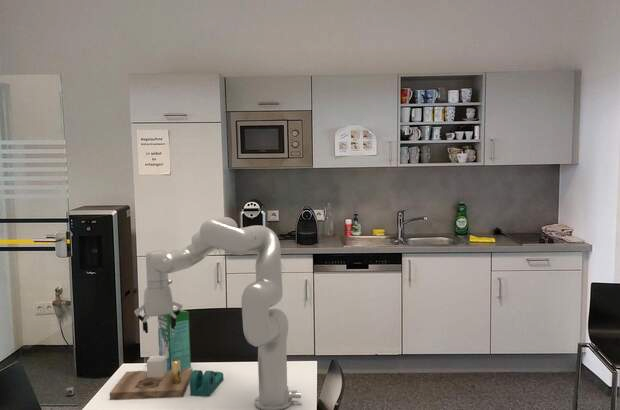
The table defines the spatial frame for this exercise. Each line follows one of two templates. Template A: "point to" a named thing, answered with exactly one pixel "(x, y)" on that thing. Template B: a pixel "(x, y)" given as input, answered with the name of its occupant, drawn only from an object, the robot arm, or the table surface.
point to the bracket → (204, 382)
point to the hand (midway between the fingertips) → (159, 330)
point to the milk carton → (175, 339)
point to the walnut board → (150, 386)
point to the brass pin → (176, 371)
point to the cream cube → (156, 366)
